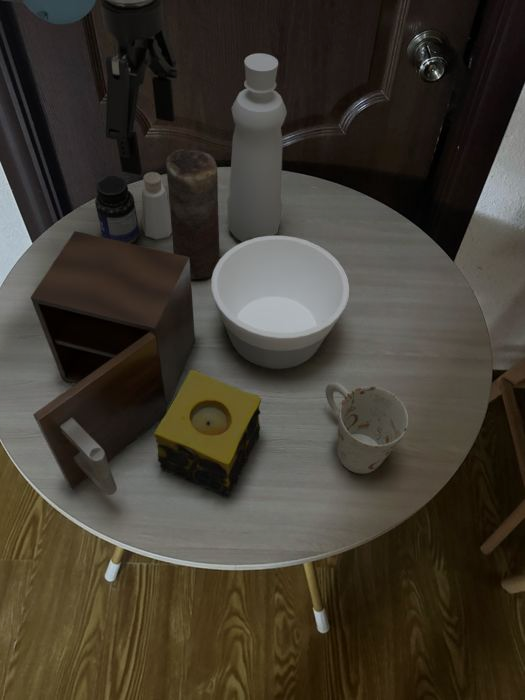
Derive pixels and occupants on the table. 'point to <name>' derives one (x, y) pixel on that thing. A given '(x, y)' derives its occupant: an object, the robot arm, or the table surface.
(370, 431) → the mug
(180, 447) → the candle
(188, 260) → the cabinet
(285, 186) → the table surface
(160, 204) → the salt shaker
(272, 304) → the bowl
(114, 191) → the pill bottle
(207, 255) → the candle
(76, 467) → the door
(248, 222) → the bottle
